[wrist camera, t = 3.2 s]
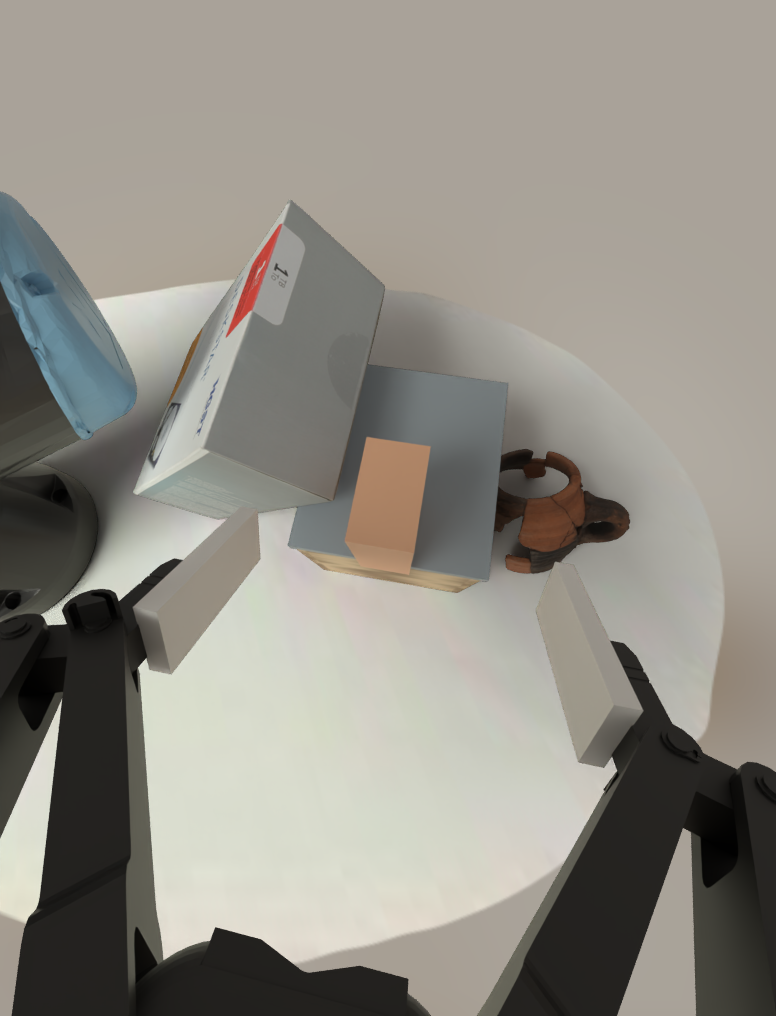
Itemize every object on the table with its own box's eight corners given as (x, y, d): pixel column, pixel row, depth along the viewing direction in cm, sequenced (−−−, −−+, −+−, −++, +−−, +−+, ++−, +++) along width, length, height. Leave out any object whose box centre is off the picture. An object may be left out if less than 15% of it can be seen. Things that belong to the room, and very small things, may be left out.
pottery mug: (471, 575, 34) (468, 510, 29) (482, 503, 41) (481, 439, 35) (623, 593, 31) (653, 522, 25) (609, 510, 37) (630, 439, 31)
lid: (289, 555, 25) (236, 523, 17) (336, 367, 29) (313, 268, 21) (485, 589, 24) (529, 572, 16) (505, 389, 28) (548, 296, 20)
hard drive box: (189, 340, 36) (292, 191, 21) (265, 383, 40) (392, 285, 26) (128, 496, 31) (202, 446, 17) (220, 523, 36) (342, 503, 21)
